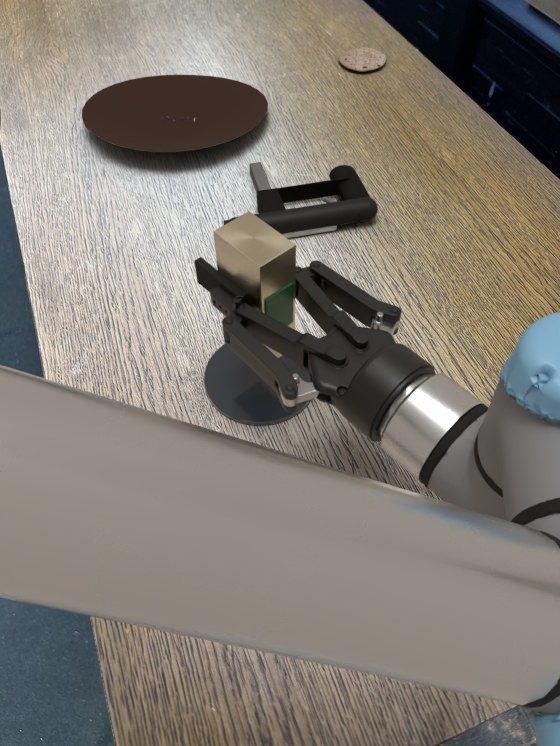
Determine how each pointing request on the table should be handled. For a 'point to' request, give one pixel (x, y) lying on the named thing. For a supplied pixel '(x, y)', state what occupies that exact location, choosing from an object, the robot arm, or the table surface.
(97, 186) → the table surface
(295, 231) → the door handle
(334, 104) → the table surface
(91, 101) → the plate
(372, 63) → the flatbread
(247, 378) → the coaster
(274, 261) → the tea tin
